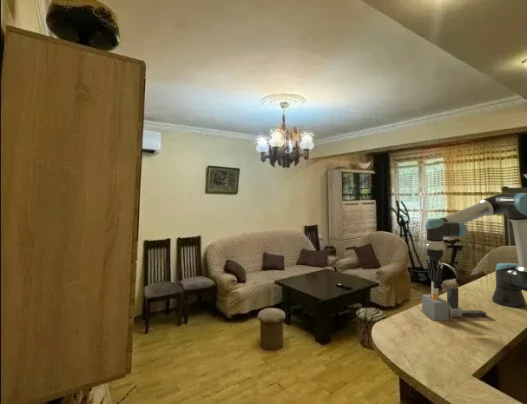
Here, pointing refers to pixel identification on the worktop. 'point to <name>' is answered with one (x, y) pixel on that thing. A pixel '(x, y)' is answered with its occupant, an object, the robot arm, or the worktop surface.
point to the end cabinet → (435, 307)
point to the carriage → (453, 302)
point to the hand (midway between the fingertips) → (434, 293)
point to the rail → (473, 313)
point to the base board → (465, 318)
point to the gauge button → (434, 296)
